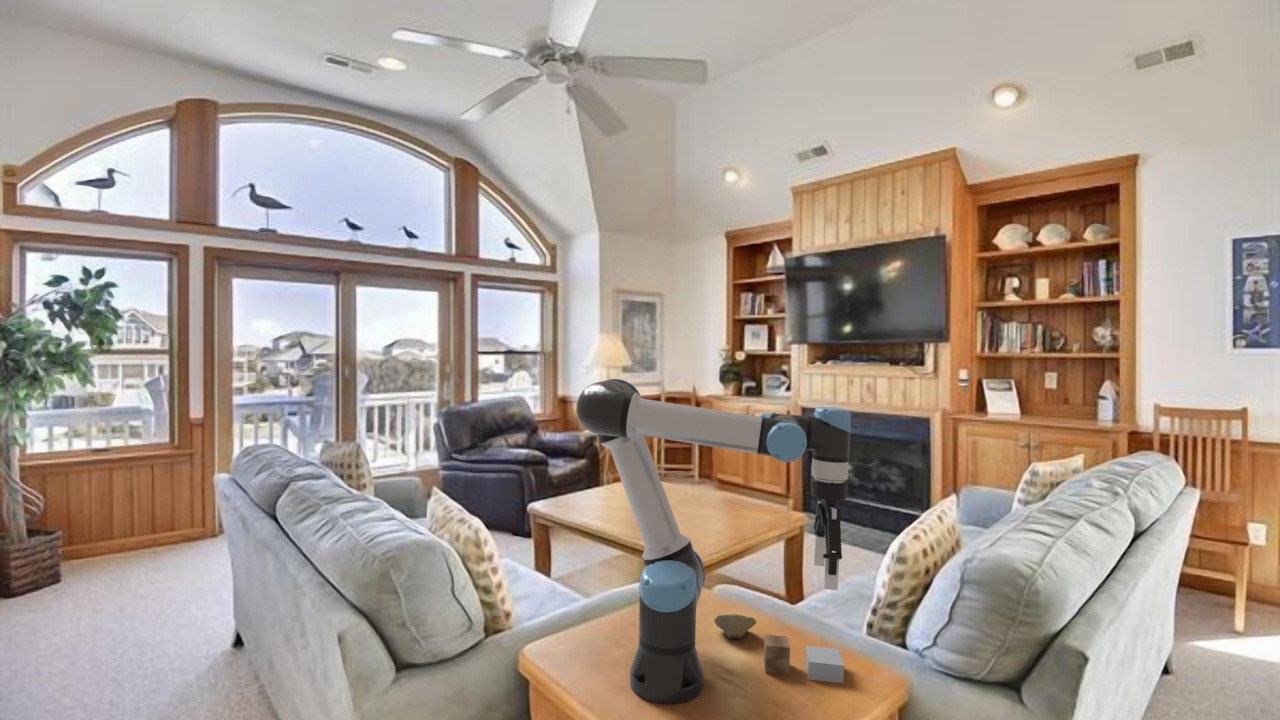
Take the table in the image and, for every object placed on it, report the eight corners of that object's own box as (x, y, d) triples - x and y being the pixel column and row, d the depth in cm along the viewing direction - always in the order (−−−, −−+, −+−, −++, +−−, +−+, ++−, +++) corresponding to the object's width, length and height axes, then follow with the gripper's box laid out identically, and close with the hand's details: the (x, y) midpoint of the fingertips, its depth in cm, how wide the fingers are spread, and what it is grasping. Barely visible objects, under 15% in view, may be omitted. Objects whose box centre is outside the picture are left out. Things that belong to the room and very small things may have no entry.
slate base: (808, 680, 126) (809, 661, 125) (805, 663, 132) (805, 645, 132) (843, 684, 124) (843, 665, 124) (838, 666, 131) (838, 648, 131)
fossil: (761, 615, 142) (722, 609, 141) (763, 635, 140) (723, 629, 138) (745, 627, 149) (708, 622, 147) (747, 646, 146) (709, 640, 144)
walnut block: (765, 673, 128) (765, 645, 128) (764, 661, 133) (764, 634, 133) (789, 675, 127) (789, 647, 127) (787, 663, 132) (787, 636, 132)
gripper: (860, 494, 116) (855, 602, 117) (836, 469, 141) (832, 558, 141) (821, 491, 117) (815, 598, 118) (804, 466, 142) (799, 555, 142)
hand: (824, 576), depth 129 cm, fingers open, 13 cm apart
